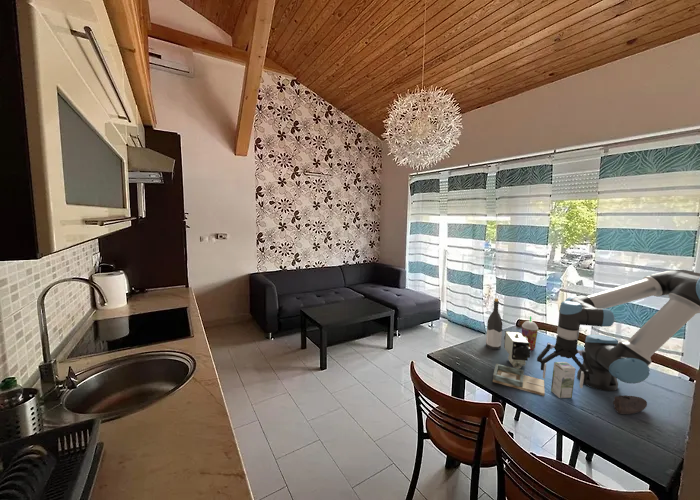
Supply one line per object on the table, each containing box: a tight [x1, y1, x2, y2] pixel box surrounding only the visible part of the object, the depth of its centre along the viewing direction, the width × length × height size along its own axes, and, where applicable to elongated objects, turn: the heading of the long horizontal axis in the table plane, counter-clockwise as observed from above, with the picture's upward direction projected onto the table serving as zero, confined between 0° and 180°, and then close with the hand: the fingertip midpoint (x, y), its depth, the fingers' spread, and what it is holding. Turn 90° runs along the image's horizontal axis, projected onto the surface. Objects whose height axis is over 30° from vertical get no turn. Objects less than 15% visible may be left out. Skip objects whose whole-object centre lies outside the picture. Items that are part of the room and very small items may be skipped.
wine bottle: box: [485, 297, 503, 350], centre depth 179 cm, size 8×8×30 cm
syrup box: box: [550, 361, 576, 399], centre depth 133 cm, size 6×6×14 cm
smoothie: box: [521, 316, 539, 352], centre depth 177 cm, size 8×8×20 cm
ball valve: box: [503, 330, 531, 370], centre depth 158 cm, size 18×8×18 cm, turn 168°
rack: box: [492, 363, 546, 397], centre depth 143 cm, size 21×12×4 cm, turn 58°
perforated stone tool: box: [612, 394, 648, 415], centre depth 122 cm, size 15×5×7 cm, turn 96°
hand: (561, 381), depth 133 cm, fingers open, 13 cm apart
